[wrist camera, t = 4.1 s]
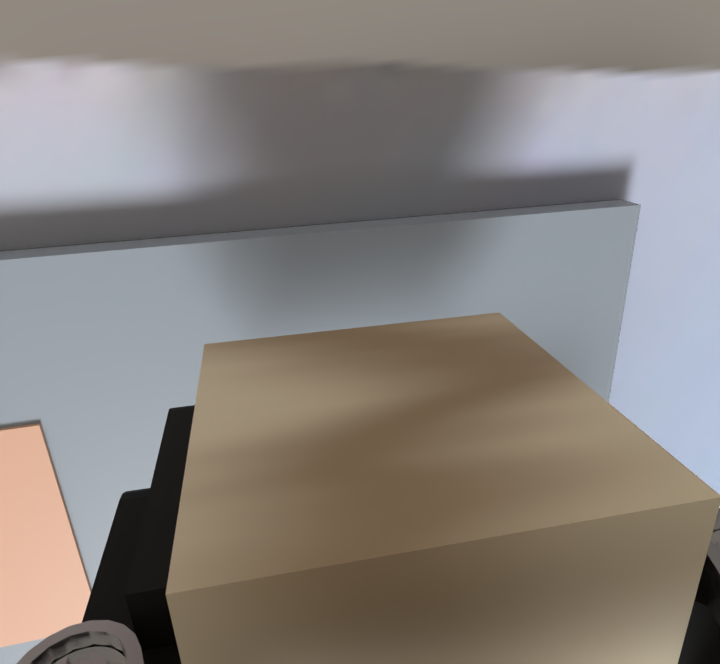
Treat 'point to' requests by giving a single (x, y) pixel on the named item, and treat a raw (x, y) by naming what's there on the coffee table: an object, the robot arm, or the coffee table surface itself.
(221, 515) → the birch block
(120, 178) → the coffee table surface
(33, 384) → the board
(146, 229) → the coffee table surface
